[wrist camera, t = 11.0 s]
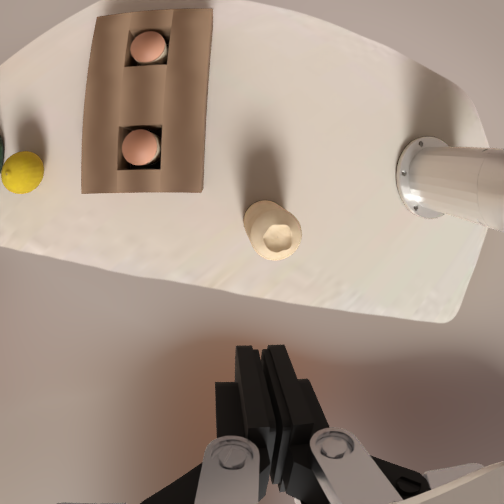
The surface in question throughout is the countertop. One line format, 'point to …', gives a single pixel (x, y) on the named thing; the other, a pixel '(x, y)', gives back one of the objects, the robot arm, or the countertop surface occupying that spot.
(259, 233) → the candle
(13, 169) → the lemon
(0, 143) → the coffee jar
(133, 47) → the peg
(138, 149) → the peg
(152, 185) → the block
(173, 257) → the countertop surface
